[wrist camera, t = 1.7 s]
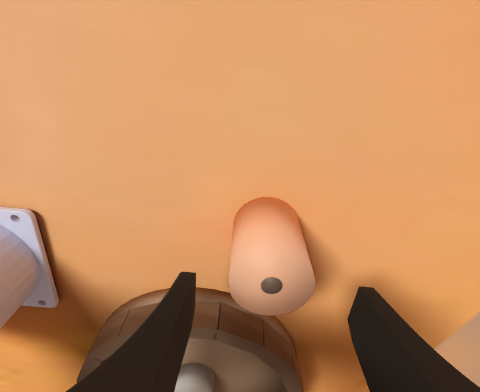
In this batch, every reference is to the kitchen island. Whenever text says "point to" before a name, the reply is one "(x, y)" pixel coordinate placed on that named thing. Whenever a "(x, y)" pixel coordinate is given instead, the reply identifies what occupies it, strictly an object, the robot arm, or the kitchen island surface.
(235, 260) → the bead
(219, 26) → the kitchen island surface
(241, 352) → the groove tray
